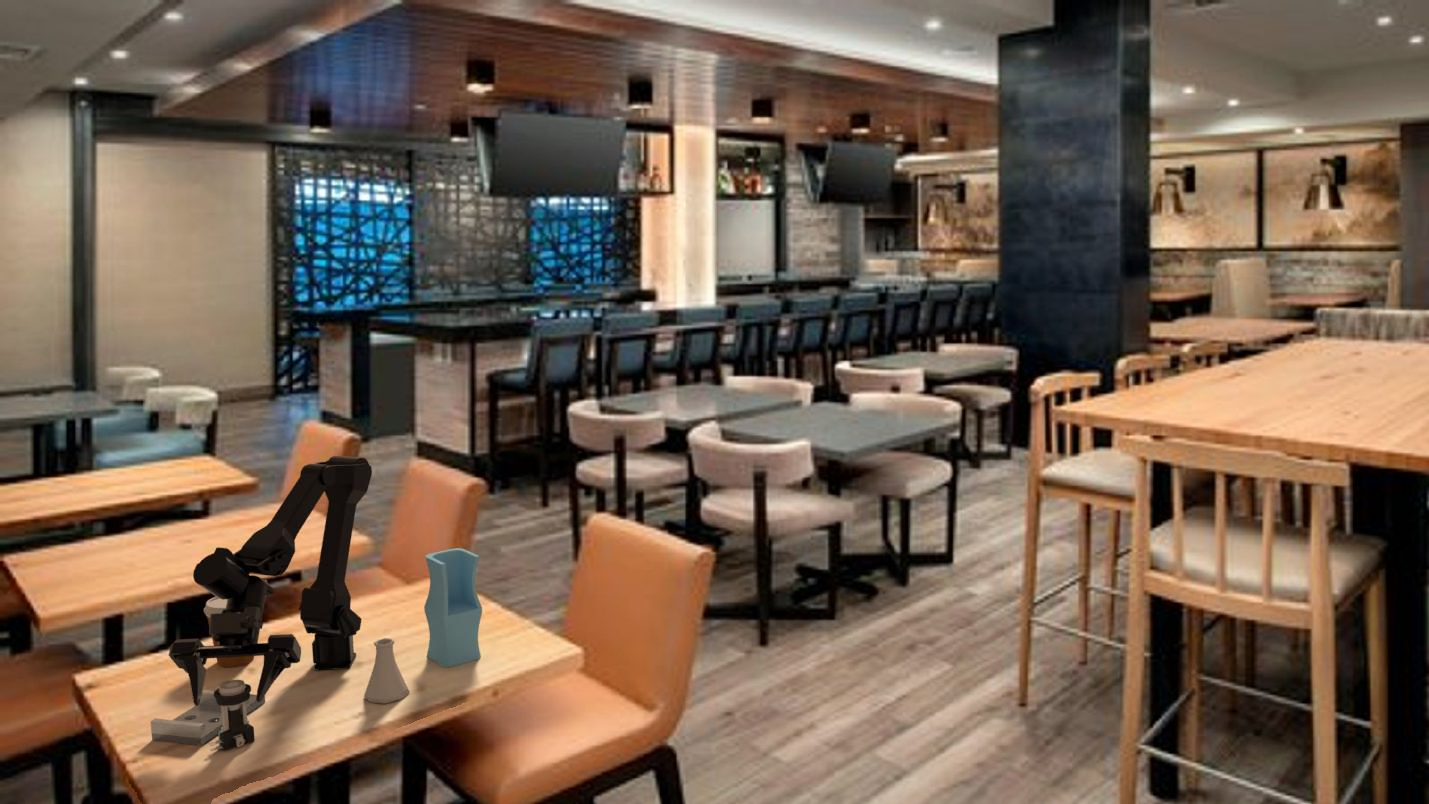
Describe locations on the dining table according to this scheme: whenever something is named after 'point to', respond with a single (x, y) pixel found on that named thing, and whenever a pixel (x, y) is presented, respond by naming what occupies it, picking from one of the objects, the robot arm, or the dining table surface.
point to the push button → (233, 715)
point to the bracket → (196, 722)
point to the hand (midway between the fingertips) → (227, 703)
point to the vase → (453, 607)
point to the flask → (385, 675)
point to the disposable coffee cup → (217, 607)
